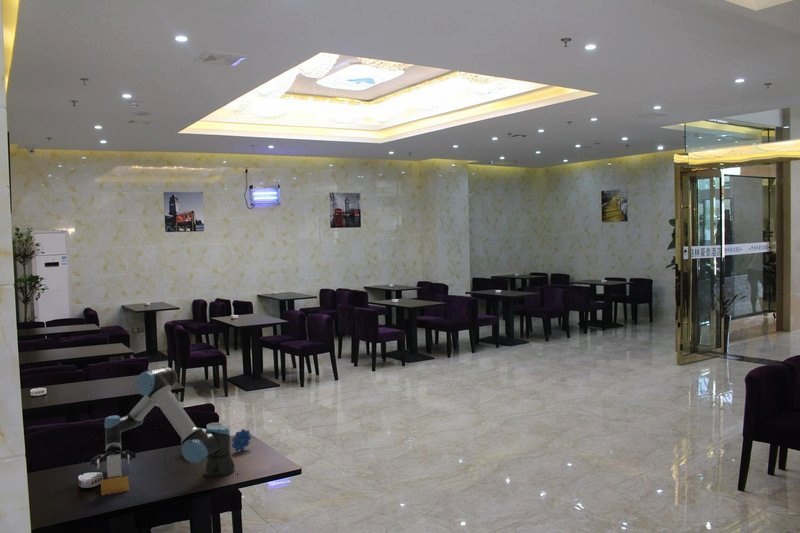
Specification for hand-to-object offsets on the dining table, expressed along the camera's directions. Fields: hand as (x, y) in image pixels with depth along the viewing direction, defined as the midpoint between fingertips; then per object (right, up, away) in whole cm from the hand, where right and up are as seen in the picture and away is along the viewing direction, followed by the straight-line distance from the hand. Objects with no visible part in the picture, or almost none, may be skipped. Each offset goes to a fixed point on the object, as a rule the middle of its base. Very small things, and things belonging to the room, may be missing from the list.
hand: (113, 463), depth 307 cm
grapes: (+49, -9, +54) cm, 73 cm away
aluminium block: (+1, -8, -1) cm, 8 cm away
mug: (+28, -9, +70) cm, 76 cm away
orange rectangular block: (+1, -12, -1) cm, 12 cm away
